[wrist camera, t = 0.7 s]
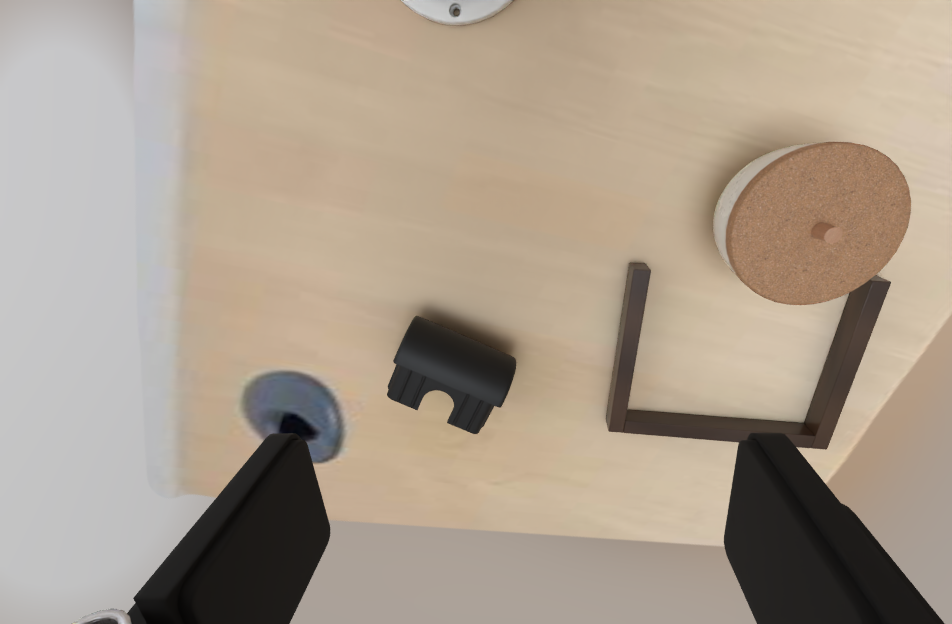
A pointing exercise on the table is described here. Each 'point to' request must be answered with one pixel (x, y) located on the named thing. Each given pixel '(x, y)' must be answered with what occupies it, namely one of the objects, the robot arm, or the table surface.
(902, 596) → the robot arm
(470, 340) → the end cap
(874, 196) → the trinket box
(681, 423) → the frame
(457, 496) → the table surface
